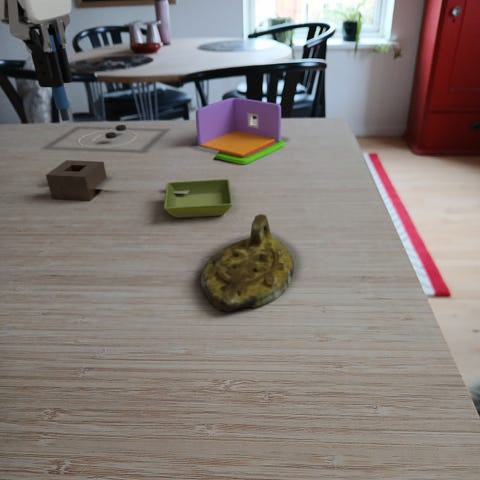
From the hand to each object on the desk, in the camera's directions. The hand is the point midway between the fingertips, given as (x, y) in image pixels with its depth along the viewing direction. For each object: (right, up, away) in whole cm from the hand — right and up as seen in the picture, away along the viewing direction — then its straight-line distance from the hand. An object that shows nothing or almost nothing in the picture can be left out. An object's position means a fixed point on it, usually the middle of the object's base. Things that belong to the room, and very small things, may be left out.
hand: (56, 83), depth 66 cm
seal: (+25, -26, -12) cm, 38 cm away
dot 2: (+2, +3, +27) cm, 27 cm away
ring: (0, +1, +26) cm, 26 cm away
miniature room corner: (+24, -1, +21) cm, 32 cm away
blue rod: (0, -4, +3) cm, 5 cm away
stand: (0, -12, +9) cm, 15 cm away
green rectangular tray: (+18, -15, +3) cm, 24 cm away
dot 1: (+1, +1, +23) cm, 23 cm away
